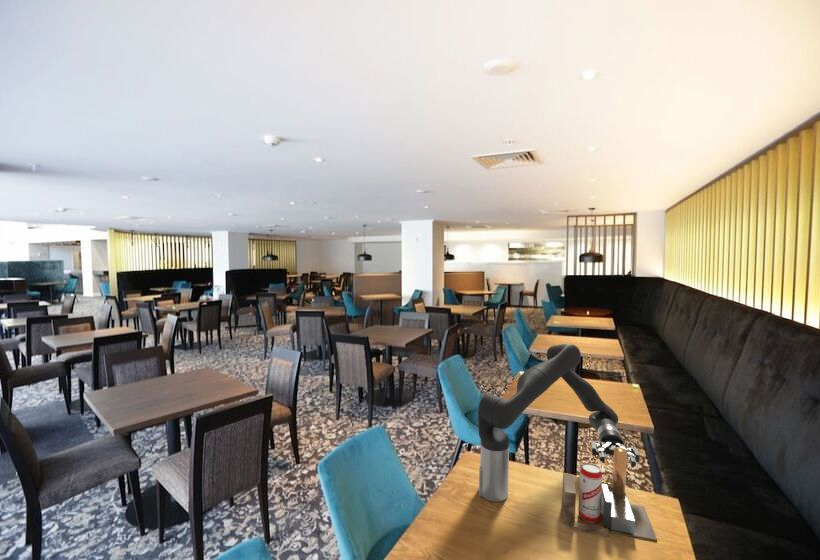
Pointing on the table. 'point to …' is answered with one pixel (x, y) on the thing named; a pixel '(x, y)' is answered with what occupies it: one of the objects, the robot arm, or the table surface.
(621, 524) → the cylinder
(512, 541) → the table surface
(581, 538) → the table surface
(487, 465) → the robot arm
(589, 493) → the beer can
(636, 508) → the vise frame
